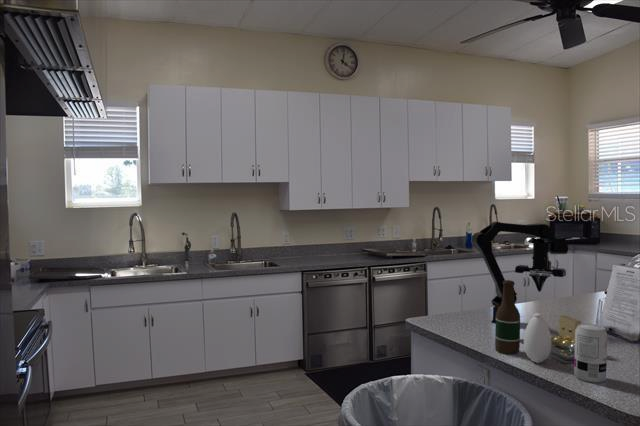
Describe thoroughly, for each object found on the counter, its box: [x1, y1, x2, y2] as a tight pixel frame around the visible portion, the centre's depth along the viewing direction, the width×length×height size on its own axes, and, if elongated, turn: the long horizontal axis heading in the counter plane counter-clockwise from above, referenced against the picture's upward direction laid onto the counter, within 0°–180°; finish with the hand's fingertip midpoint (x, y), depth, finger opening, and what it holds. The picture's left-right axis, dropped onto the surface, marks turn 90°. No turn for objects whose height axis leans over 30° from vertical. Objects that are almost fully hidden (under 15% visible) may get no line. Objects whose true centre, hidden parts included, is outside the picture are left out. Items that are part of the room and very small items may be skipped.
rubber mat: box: [520, 338, 574, 365], centre depth 173 cm, size 26×15×1 cm, turn 11°
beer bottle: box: [494, 279, 521, 355], centre depth 171 cm, size 8×8×24 cm
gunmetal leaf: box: [551, 342, 575, 361], centre depth 165 cm, size 7×9×4 cm
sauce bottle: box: [523, 305, 552, 364], centre depth 161 cm, size 8×8×18 cm
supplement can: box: [573, 323, 608, 384], centre depth 147 cm, size 8×8×15 cm
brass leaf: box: [551, 315, 582, 350], centre depth 174 cm, size 8×6×10 cm
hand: (539, 291), depth 211 cm, fingers closed
